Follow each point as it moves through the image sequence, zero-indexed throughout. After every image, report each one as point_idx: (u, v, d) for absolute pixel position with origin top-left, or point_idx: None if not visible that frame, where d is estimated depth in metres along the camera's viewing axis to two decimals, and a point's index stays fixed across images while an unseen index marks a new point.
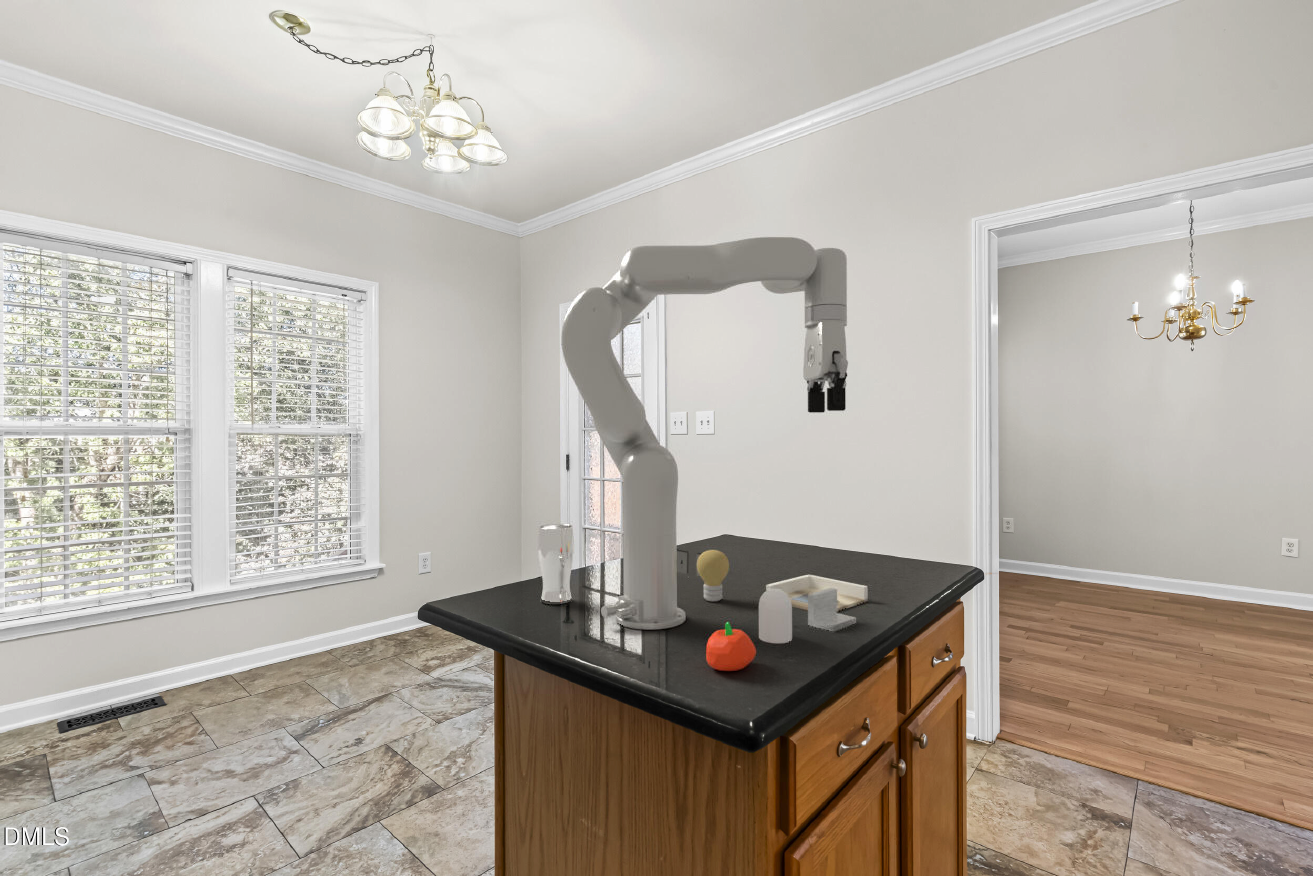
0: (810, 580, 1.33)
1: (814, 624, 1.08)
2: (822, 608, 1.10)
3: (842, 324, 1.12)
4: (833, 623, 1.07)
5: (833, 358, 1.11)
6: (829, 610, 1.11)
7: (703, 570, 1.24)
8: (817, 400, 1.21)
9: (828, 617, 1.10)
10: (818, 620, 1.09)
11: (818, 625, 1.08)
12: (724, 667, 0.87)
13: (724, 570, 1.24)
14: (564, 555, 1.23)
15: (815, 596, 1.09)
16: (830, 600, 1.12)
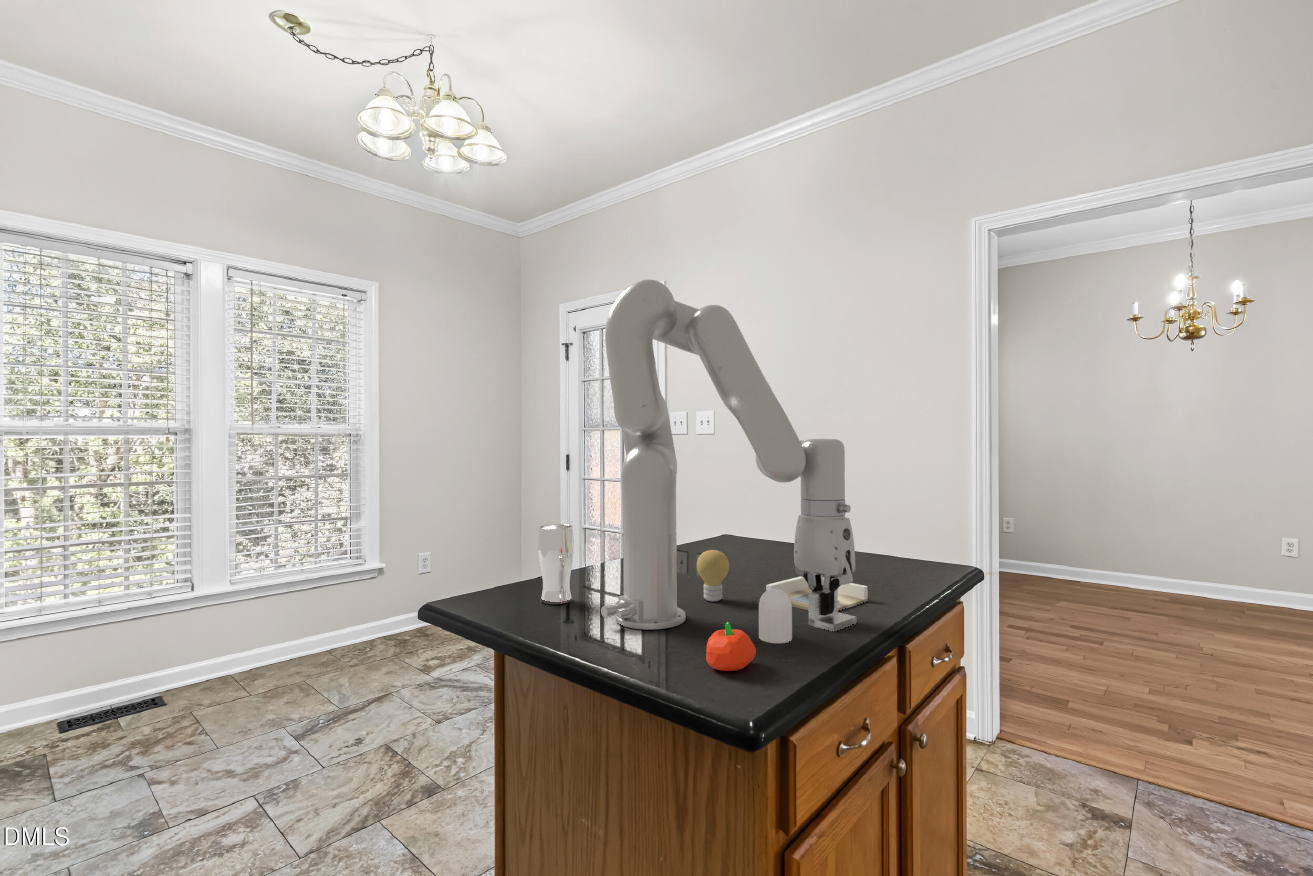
0: None
1: (815, 623, 1.08)
2: None
3: (798, 517, 1.13)
4: (834, 622, 1.07)
5: None
6: None
7: (703, 570, 1.24)
8: None
9: (829, 616, 1.10)
10: (819, 619, 1.09)
11: (819, 624, 1.08)
12: (724, 667, 0.87)
13: (724, 570, 1.24)
14: (564, 555, 1.23)
15: (816, 595, 1.09)
16: None
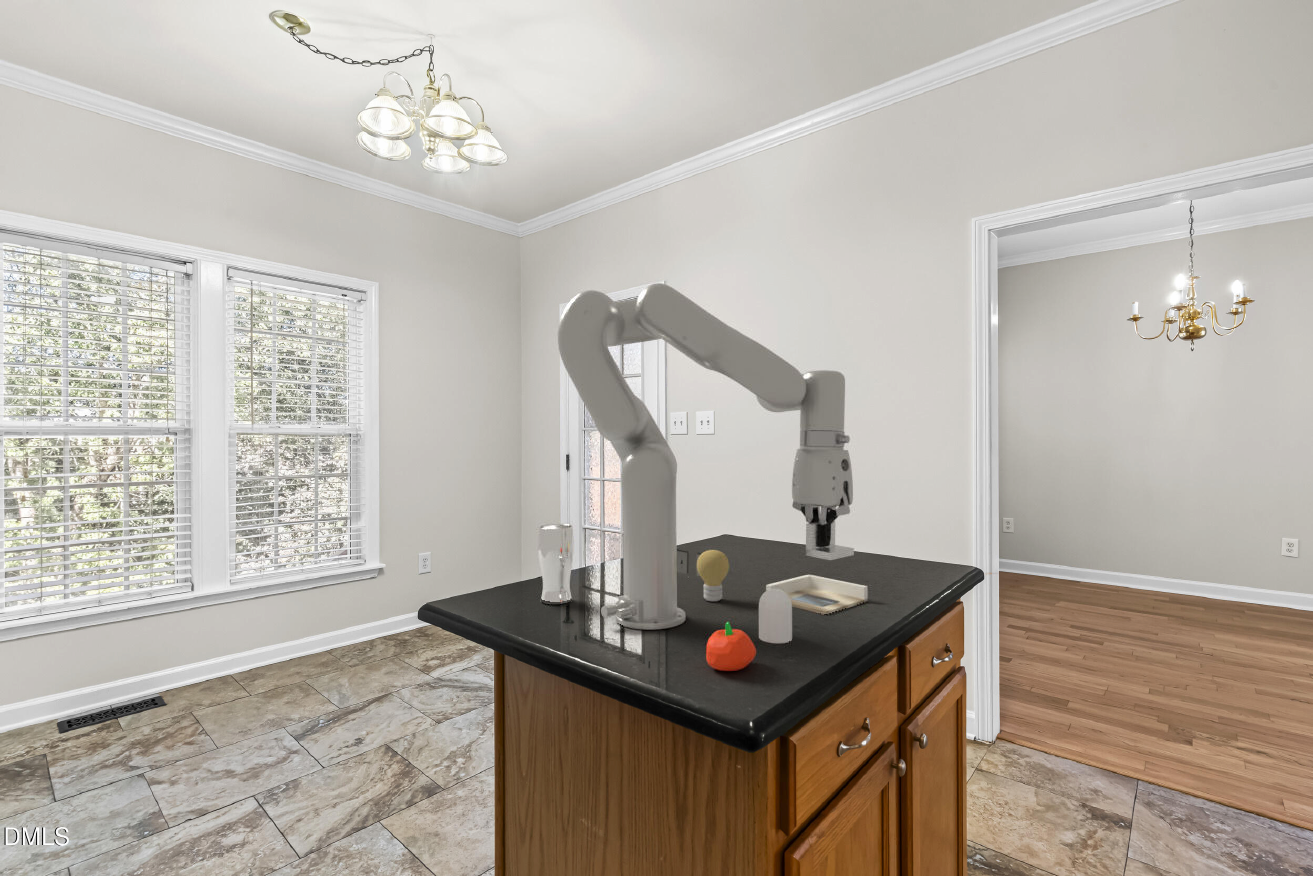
0: (810, 580, 1.33)
1: (812, 553, 1.09)
2: None
3: (797, 450, 1.13)
4: (831, 551, 1.07)
5: None
6: None
7: (703, 570, 1.24)
8: None
9: (826, 547, 1.10)
10: (816, 549, 1.09)
11: (816, 553, 1.08)
12: (724, 667, 0.87)
13: (724, 570, 1.24)
14: (564, 555, 1.23)
15: (813, 525, 1.09)
16: None
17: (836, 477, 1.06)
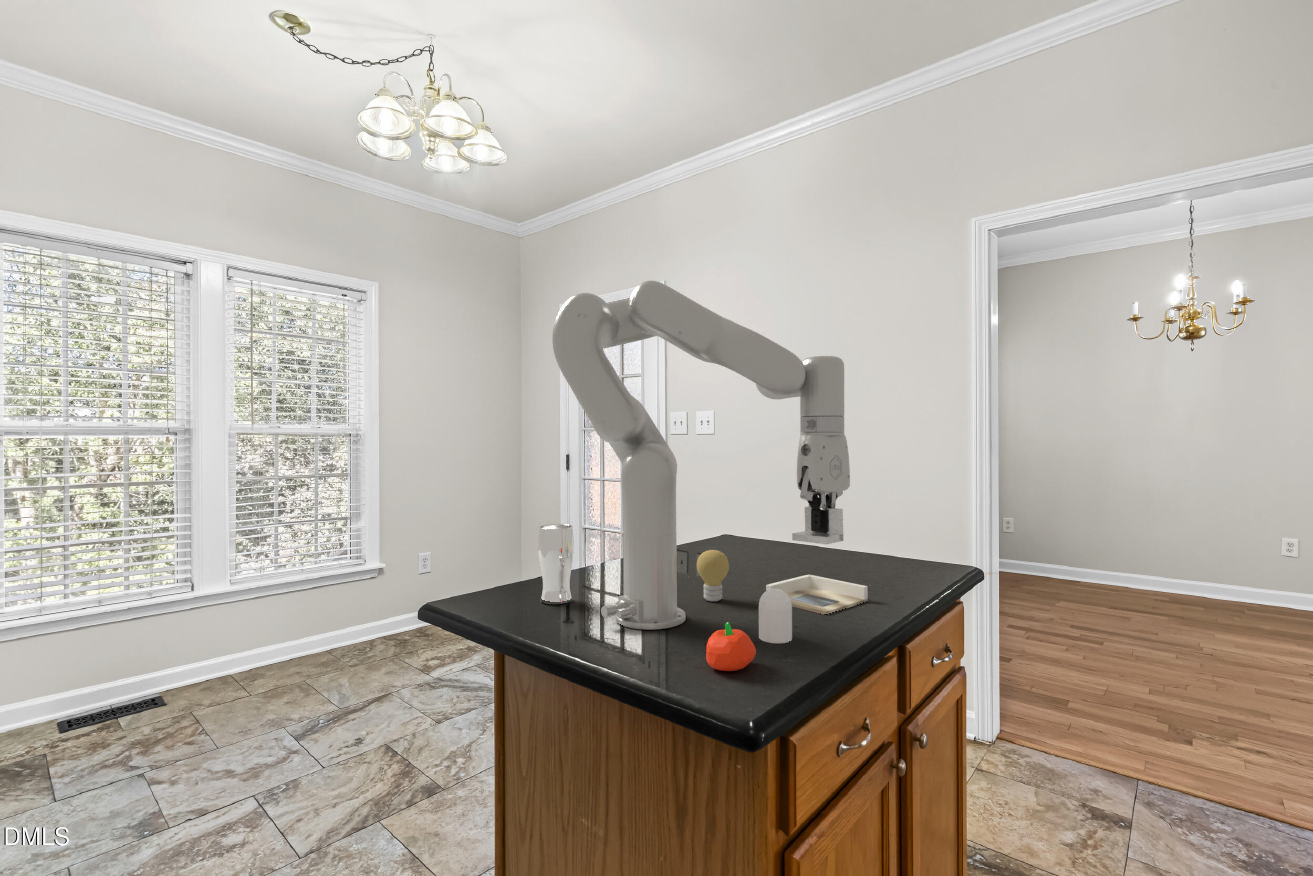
0: (810, 580, 1.33)
1: None
2: None
3: None
4: (799, 533, 1.10)
5: None
6: None
7: (703, 570, 1.24)
8: None
9: (819, 533, 1.10)
10: (806, 531, 1.12)
11: None
12: (724, 667, 0.87)
13: (724, 570, 1.24)
14: (564, 555, 1.23)
15: (806, 508, 1.13)
16: (828, 518, 1.09)
17: (797, 461, 1.10)
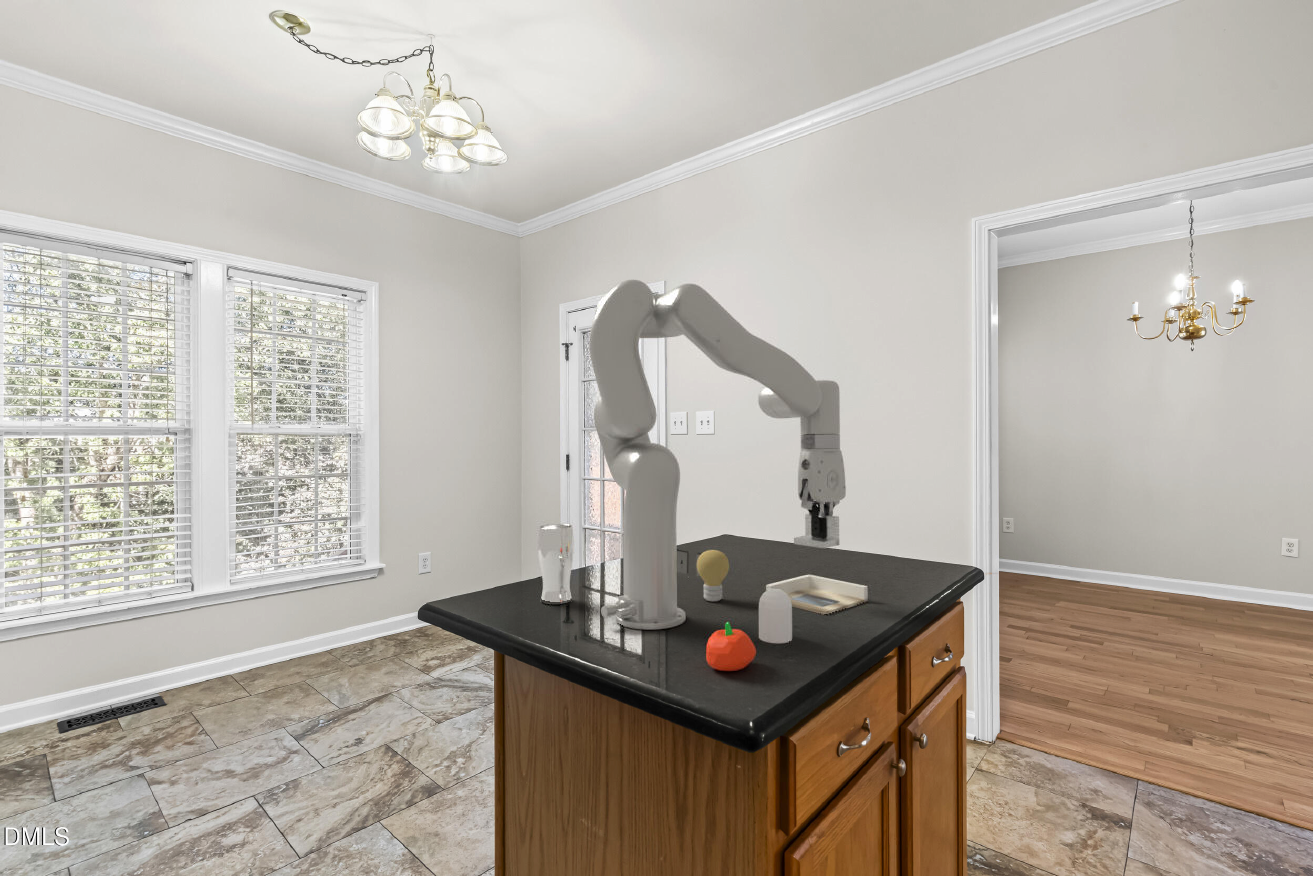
0: (810, 580, 1.33)
1: None
2: None
3: None
4: (800, 538, 1.24)
5: None
6: None
7: (703, 570, 1.24)
8: None
9: None
10: (806, 536, 1.26)
11: None
12: (724, 667, 0.87)
13: (724, 570, 1.24)
14: (564, 555, 1.23)
15: (807, 515, 1.26)
16: (826, 524, 1.23)
17: (798, 474, 1.23)
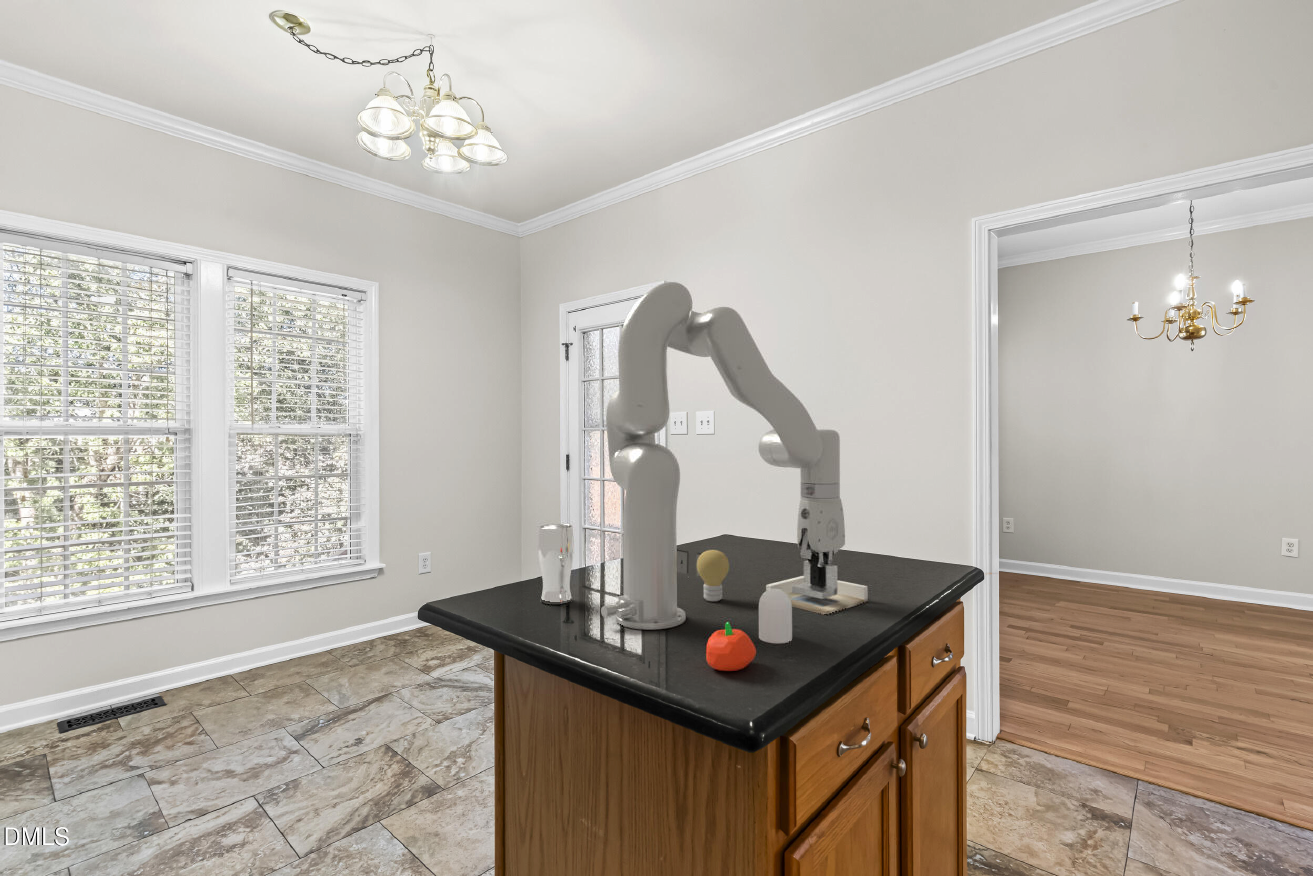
0: None
1: None
2: None
3: None
4: (798, 586, 1.24)
5: None
6: None
7: (703, 570, 1.24)
8: None
9: (816, 586, 1.24)
10: (805, 583, 1.26)
11: None
12: (724, 667, 0.87)
13: (724, 570, 1.24)
14: (564, 555, 1.23)
15: (805, 562, 1.26)
16: None
17: None
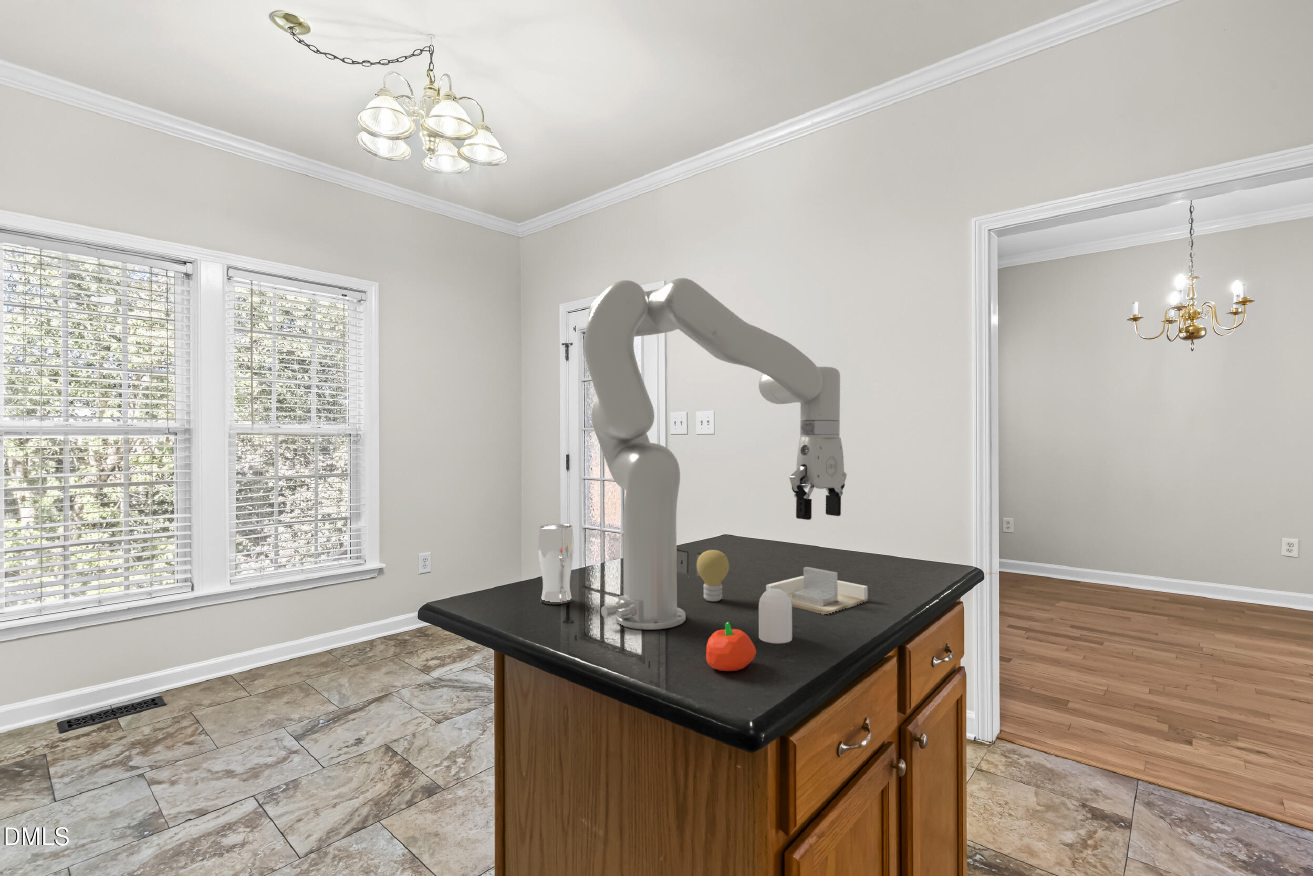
0: None
1: None
2: (814, 583, 1.25)
3: None
4: (798, 593, 1.24)
5: None
6: (823, 588, 1.23)
7: (703, 570, 1.24)
8: None
9: (816, 592, 1.24)
10: (805, 590, 1.26)
11: None
12: (724, 667, 0.87)
13: (724, 570, 1.24)
14: (564, 555, 1.23)
15: (805, 569, 1.26)
16: (824, 580, 1.23)
17: (797, 460, 1.23)
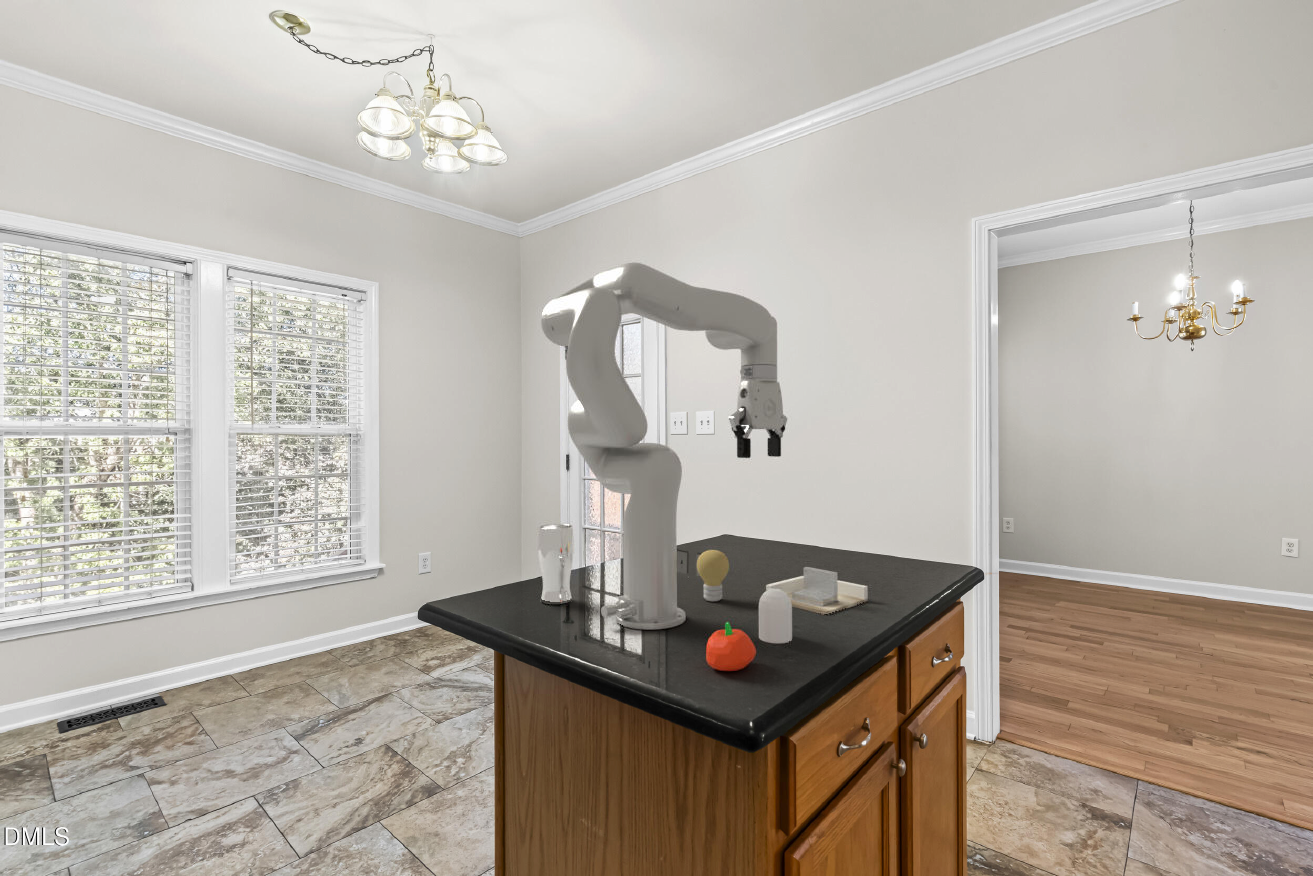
0: None
1: None
2: (814, 583, 1.25)
3: None
4: (798, 593, 1.24)
5: None
6: (823, 588, 1.23)
7: (703, 570, 1.24)
8: None
9: (816, 592, 1.24)
10: (805, 590, 1.26)
11: None
12: (724, 667, 0.87)
13: (724, 570, 1.24)
14: (564, 555, 1.23)
15: (805, 569, 1.26)
16: (824, 580, 1.23)
17: None
